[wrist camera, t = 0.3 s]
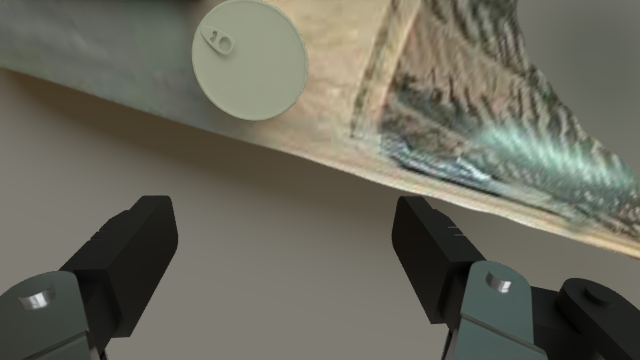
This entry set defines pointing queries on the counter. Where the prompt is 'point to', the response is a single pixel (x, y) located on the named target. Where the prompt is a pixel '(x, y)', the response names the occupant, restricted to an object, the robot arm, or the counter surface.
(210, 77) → the can
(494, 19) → the counter surface
